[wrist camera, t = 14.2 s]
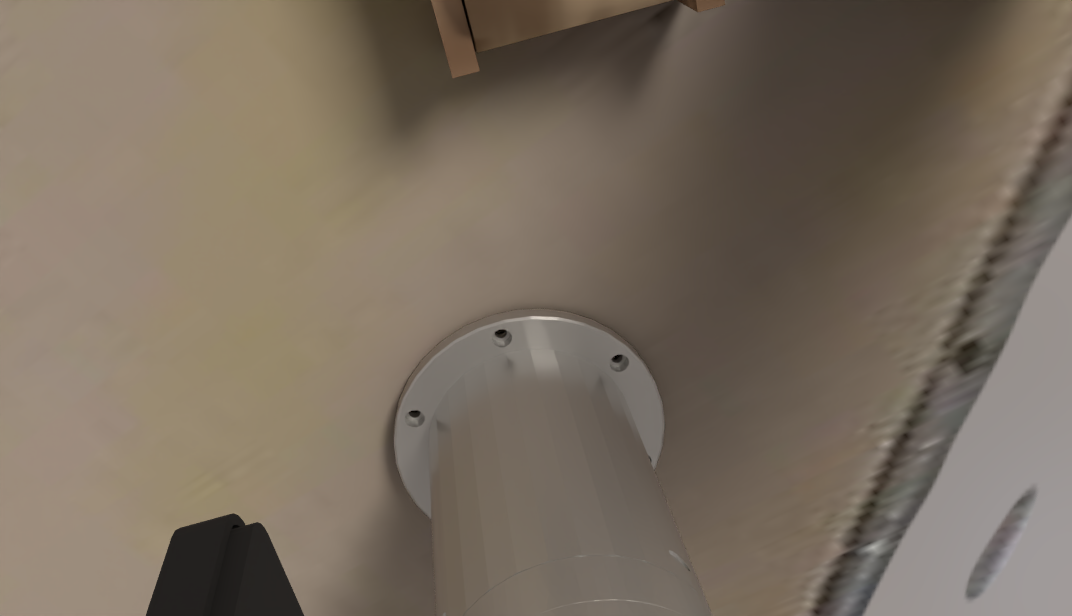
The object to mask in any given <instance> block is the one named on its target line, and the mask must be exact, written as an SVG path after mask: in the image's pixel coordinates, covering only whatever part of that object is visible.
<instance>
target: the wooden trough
mask: <svg viewBox="0 0 1072 616" xmlns="http://www.w3.org/2000/svg"><path fill="white" fill-rule="evenodd" d="M668 1H672V0H431V2H432V6H433V9H434V13H435V17H436V20H437V24H438V27H439V31H440V35H441V38H442V42H443V45H444V49H445V53H446V56H447V60H448V64H449V67H450V71H451V74H452V78H456V77H460V76H463V75H467V74H471V73H475V72H478V71H480V69H479V66H478V62H477V58H476V54H475V51H476V52H477V53H479V52H482V51H486V50H490V49H494V48H497V47H501V46H505V45H508V44H512V43H516V42H520V41H523V40H527V39H531V38H534V37H538V36H542V35H546V34H549V33H553V32H557V31H560V30H564V29H568V28H571V27H575V26H579V25H583V24H586V23H590V22H594V21H597V20H601V19H605V18H609V17H612V16H616V15H620V14H623V13H627V12H631V11H635V10H638V9H642V8H646V7H649V6H653V5H657V4H661V3H664V2H668ZM677 1H679V2H681V3H683V4H684V5H686V6H688V7H690V8H691V9H693V10H695V11H697V12H701V11H705V10H708V9H712V8H716V7H719V6H723V5H725V1H724V0H677Z"/></svg>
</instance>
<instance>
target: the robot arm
mask: <svg viewBox="0 0 1072 616" xmlns="http://www.w3.org/2000/svg"><path fill="white" fill-rule="evenodd" d="M499 329H505V332H504V333H502V334H497V333H496V331H498V330H499ZM616 355H620V356H619V357H618V358H612V357H614V356H616ZM412 410H418V411H419V412H417V413H412V412H410V411H412ZM664 431H665V421H664V411H663V403H662V400H661V397H660V394H659V391H658V388H657V385H656V383H655V381H654V379H653V377H652V375H651V373H650V371H649V369H648V367H647V365H646V364H645V362H644V361H643V360H642V358H641V357H640V356H639V355H638V353H637V352H636V351H635V349H634V348H633V347H632V346H631V345H630V344H629V343H627V342H626V341H625V340H624V339H623V338H622V337H620V336H619V335H618V334H617V333H616V332H614V331H613V330H611V329H609V328H607V327H605V326H604V325H602V324H600V323H598V322H596V321H594V320H592V319H589V318H586V317H583V316H580V315H577V314H574V313H570V312H566V311H558V310H550V309H523V310H513V311H508V312H504V313H500V314H495V315H491V316H488V317H485V318H483V319H480V320H478V321H476V322H473V323H471V324H468V325H466V326H464V327H462V328H461V329H459V330H458V331H456V332H455V333H453V334H451V335H450V336H448V337H447V338H445V339H444V340H442V341H441V342H440V343H439V344H438V345H437V346H436V347H435V348H434V349H433V350H431V351H430V352H429V353H428V354H427V355H426V356H425V357H424V358H423V359H422V361H421V362H420V364H419V365H418V366H417V368H416V369H415V370H414V372H413V373H412V375H411V376H410V377H409V379H408V381H407V384H406V386H405V388H404V390H403V392H402V395H401V397H400V399H399V403H398V407H397V412H396V417H395V422H394V450H395V458H396V465H397V468H398V471H399V474H400V476H401V479H402V482H403V485H404V487H405V488H406V490H407V492H408V493H409V495H410V496H411V498H412V499H413V501H414V503H415V504H416V505H417V506H418V507H419V508H420V510H421V511H422V512H423V513H424V514H425V515H426V516H427V517H428V518H429V519H430V520H431V523H432V545H433V568H434V590H435V613H436V616H713V615H712V613H711V611H710V608H709V606H708V603H707V601H706V598H705V596H704V593H703V591H702V588H701V586H700V583H699V581H698V578H697V576H696V573H695V571H694V568H693V566H692V563H691V561H690V558H689V556H688V553H687V551H686V548H685V546H684V543H683V541H682V538H681V536H680V534H679V531H678V529H677V526H676V524H675V521H674V519H673V516H672V514H671V511H670V509H669V506H668V504H667V501H666V499H665V496H664V494H663V491H662V489H661V486H660V484H659V481H658V479H657V476H656V474H655V469H656V466H657V463H658V460H659V457H660V454H661V451H662V448H663V439H664ZM146 616H304V614H303V612H302V610H301V607H300V605H299V603H298V601H297V598H296V596H295V594H294V592H293V589H292V587H291V585H290V583H289V580H288V578H287V576H286V574H285V571H284V569H283V567H282V565H281V562H280V560H279V558H278V556H277V553H276V551H275V549H274V547H273V544H272V542H271V540H270V537H269V535H268V533H267V531H266V530H265V528H264V527H263V525H262V524H261V523H258V522H257V523H253V524H249V525H245V523H244V521H243V520H242V519H241V518H240V517H239V516H238V515H236V514H229V515H226V516H222V517H218V518H215V519H211V520H207V521H204V522H200V523H196V524H193V525H189V526H185V527H182V528H179V529H177V530H175V532H174V534H173V536H172V538H171V541H170V544H169V547H168V550H167V553H166V556H165V559H164V562H163V565H162V568H161V571H160V574H159V577H158V580H157V583H156V586H155V589H154V592H153V595H152V598H151V601H150V604H149V607H148V611H147V614H146Z"/></svg>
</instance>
